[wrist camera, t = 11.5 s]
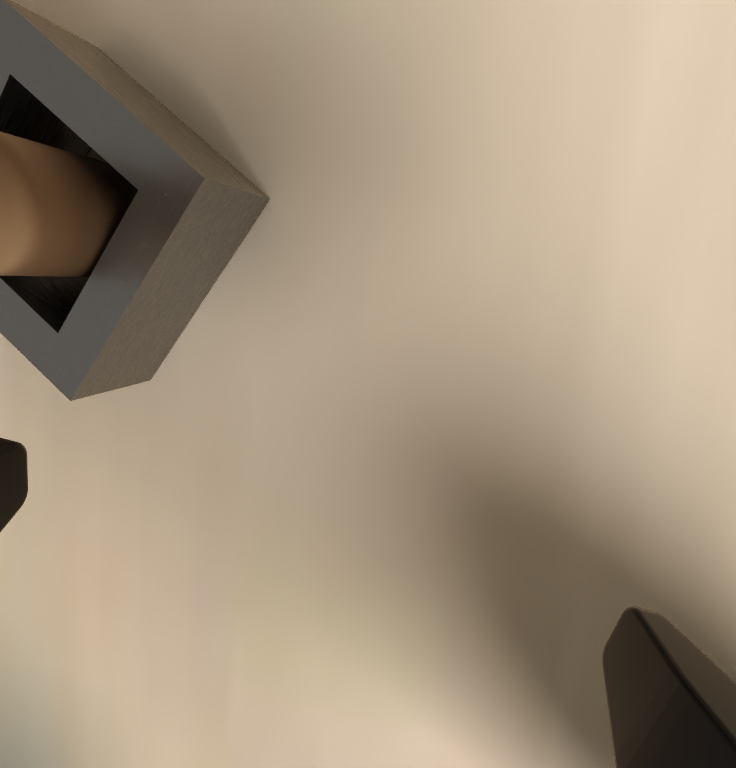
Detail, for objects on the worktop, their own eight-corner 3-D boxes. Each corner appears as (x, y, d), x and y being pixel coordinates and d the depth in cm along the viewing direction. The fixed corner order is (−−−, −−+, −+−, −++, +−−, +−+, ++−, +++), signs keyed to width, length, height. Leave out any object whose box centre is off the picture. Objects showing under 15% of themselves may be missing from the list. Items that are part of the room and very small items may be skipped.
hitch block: (269, 199, 19) (204, 178, 15) (150, 380, 22) (70, 401, 18) (97, 47, 20) (-5, -9, 16) (4, 241, 22) (-102, 232, 19)
